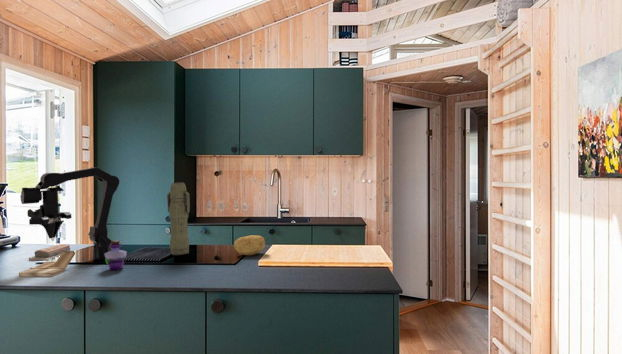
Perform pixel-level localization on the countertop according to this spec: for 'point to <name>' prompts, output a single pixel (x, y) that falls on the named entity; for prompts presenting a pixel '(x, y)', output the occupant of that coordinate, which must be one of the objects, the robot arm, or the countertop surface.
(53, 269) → the pine floorboard strip
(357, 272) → the countertop surface
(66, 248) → the packaged product
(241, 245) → the potato
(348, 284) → the countertop surface
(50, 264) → the outer oak plank
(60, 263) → the inner oak plank
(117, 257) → the potion bottle
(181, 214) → the olive stone statue
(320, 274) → the countertop surface
